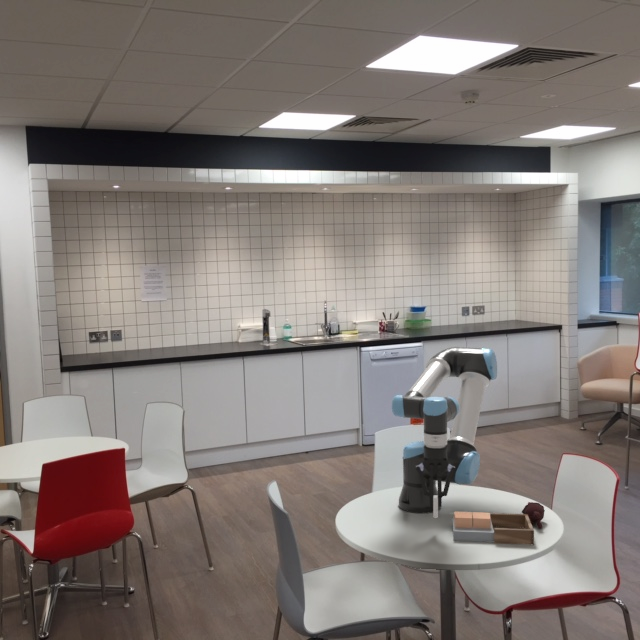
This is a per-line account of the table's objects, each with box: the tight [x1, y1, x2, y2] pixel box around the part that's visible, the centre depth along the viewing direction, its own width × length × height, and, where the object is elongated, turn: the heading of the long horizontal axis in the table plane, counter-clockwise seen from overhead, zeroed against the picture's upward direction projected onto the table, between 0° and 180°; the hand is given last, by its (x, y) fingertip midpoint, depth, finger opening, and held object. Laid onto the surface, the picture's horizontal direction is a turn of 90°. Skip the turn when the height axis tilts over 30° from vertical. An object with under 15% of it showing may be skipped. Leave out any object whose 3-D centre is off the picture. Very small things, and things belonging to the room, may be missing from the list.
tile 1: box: [453, 511, 472, 528], centre depth 228 cm, size 6×6×3 cm
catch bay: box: [489, 512, 535, 546], centre depth 226 cm, size 14×12×4 cm
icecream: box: [521, 501, 546, 530], centre depth 237 cm, size 7×7×15 cm
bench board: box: [451, 516, 494, 543], centre depth 228 cm, size 12×12×3 cm
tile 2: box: [471, 511, 491, 529], centre depth 228 cm, size 6×6×3 cm
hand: (435, 516), depth 229 cm, fingers closed
